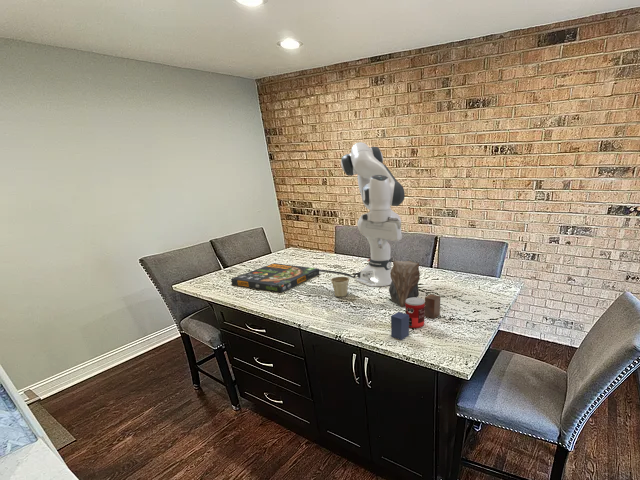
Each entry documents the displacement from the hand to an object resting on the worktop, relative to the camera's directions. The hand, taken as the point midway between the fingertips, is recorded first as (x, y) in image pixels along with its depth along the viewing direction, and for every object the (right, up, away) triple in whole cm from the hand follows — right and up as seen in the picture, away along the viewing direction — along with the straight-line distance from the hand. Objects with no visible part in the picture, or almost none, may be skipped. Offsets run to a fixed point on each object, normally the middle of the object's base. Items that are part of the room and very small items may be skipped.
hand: (381, 248), depth 147 cm
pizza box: (-65, -10, +54) cm, 85 cm away
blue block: (+8, -37, -13) cm, 40 cm away
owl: (+10, -24, +19) cm, 32 cm away
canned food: (+14, -33, -4) cm, 36 cm away
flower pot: (-23, -20, +29) cm, 42 cm away
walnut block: (+23, -29, +5) cm, 37 cm away
